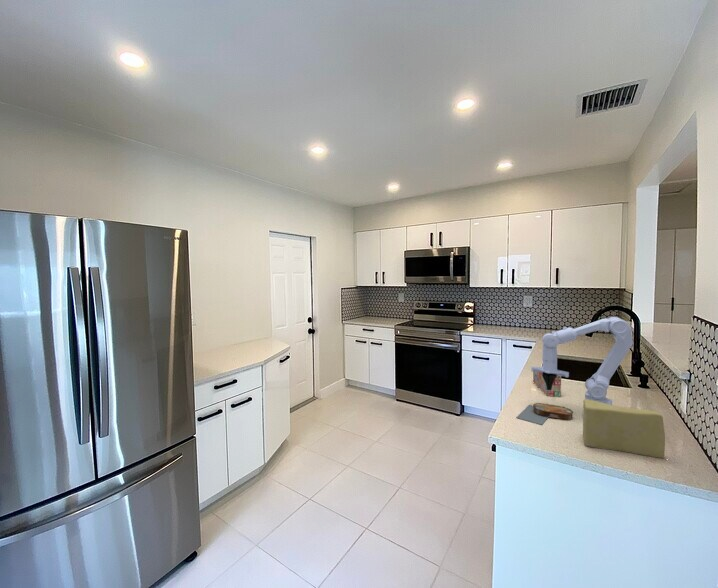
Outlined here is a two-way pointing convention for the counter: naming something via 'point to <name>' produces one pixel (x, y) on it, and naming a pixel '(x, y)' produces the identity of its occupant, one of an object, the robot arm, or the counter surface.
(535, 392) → the counter surface
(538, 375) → the printed cardboard box
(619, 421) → the cheese
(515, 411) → the counter surface
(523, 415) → the mat
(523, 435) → the counter surface
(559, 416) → the tin
